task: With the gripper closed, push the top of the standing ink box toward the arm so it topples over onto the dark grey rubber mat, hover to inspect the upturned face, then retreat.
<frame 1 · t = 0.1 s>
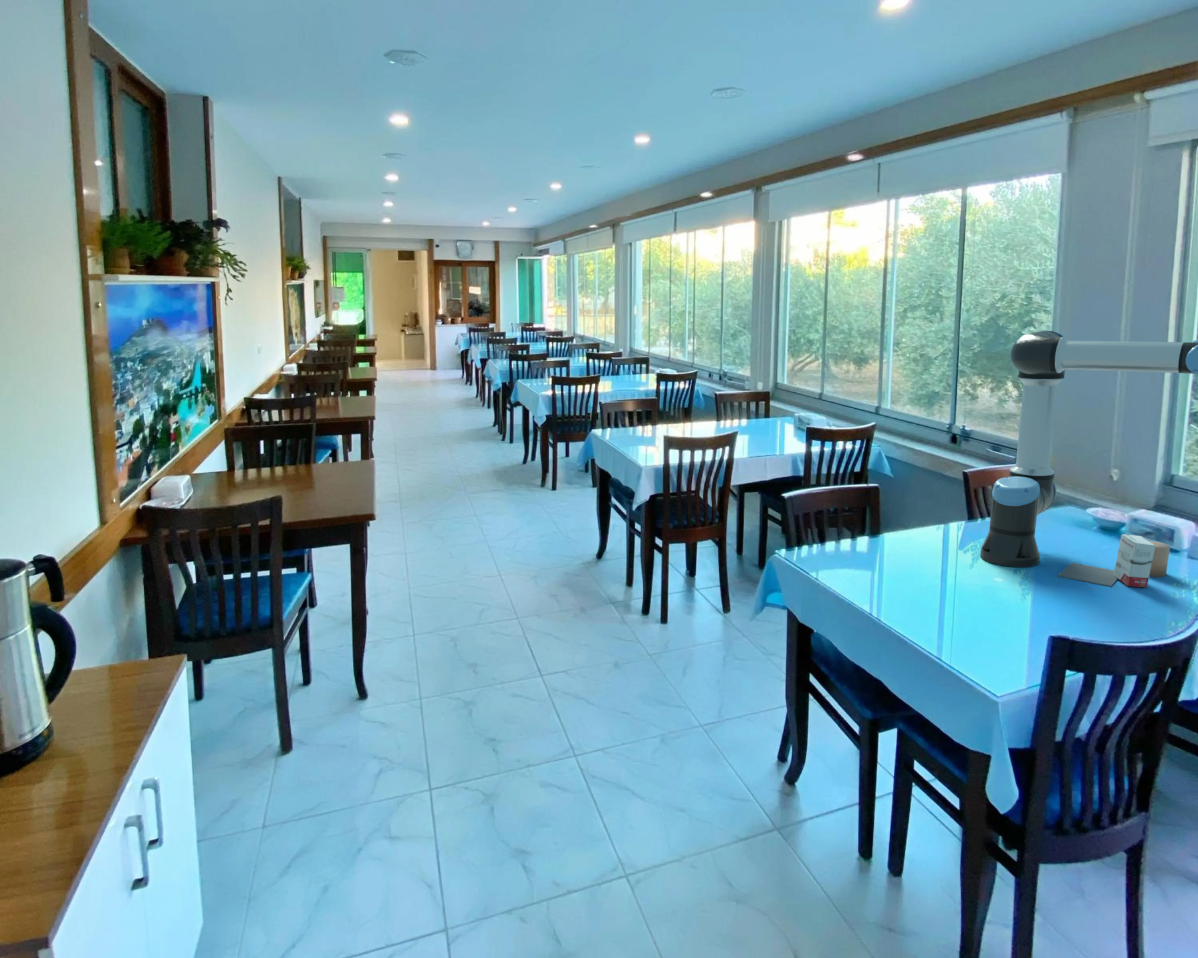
slate mat: (1090, 574, 209), on the table
beige domed cylinder: (1150, 572, 209), on the table
ink box: (1129, 582, 203), on the table, touching slate mat
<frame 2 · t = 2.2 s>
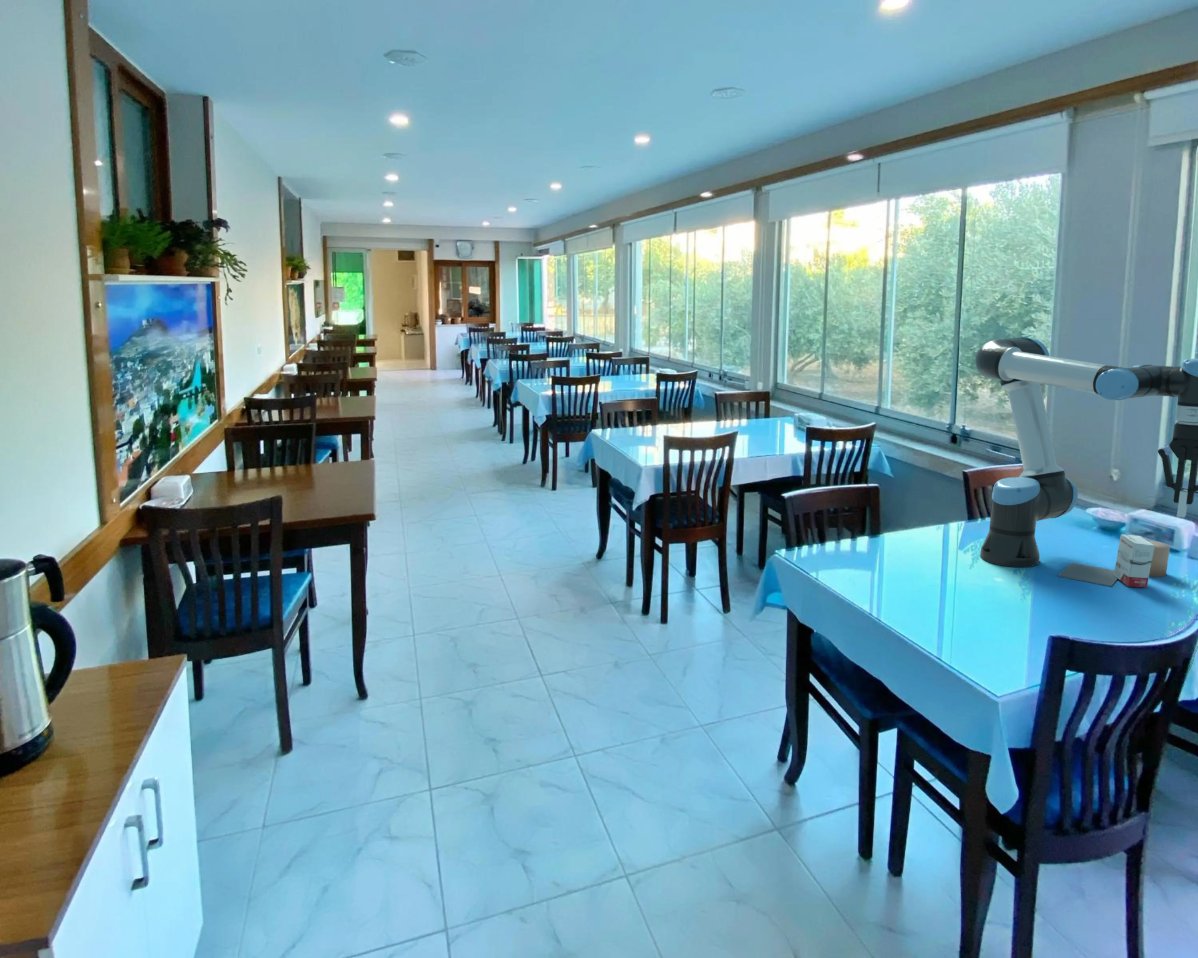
hand: (1181, 515, 192), 20 cm above the table, fingers closed
nothing on the table moved.
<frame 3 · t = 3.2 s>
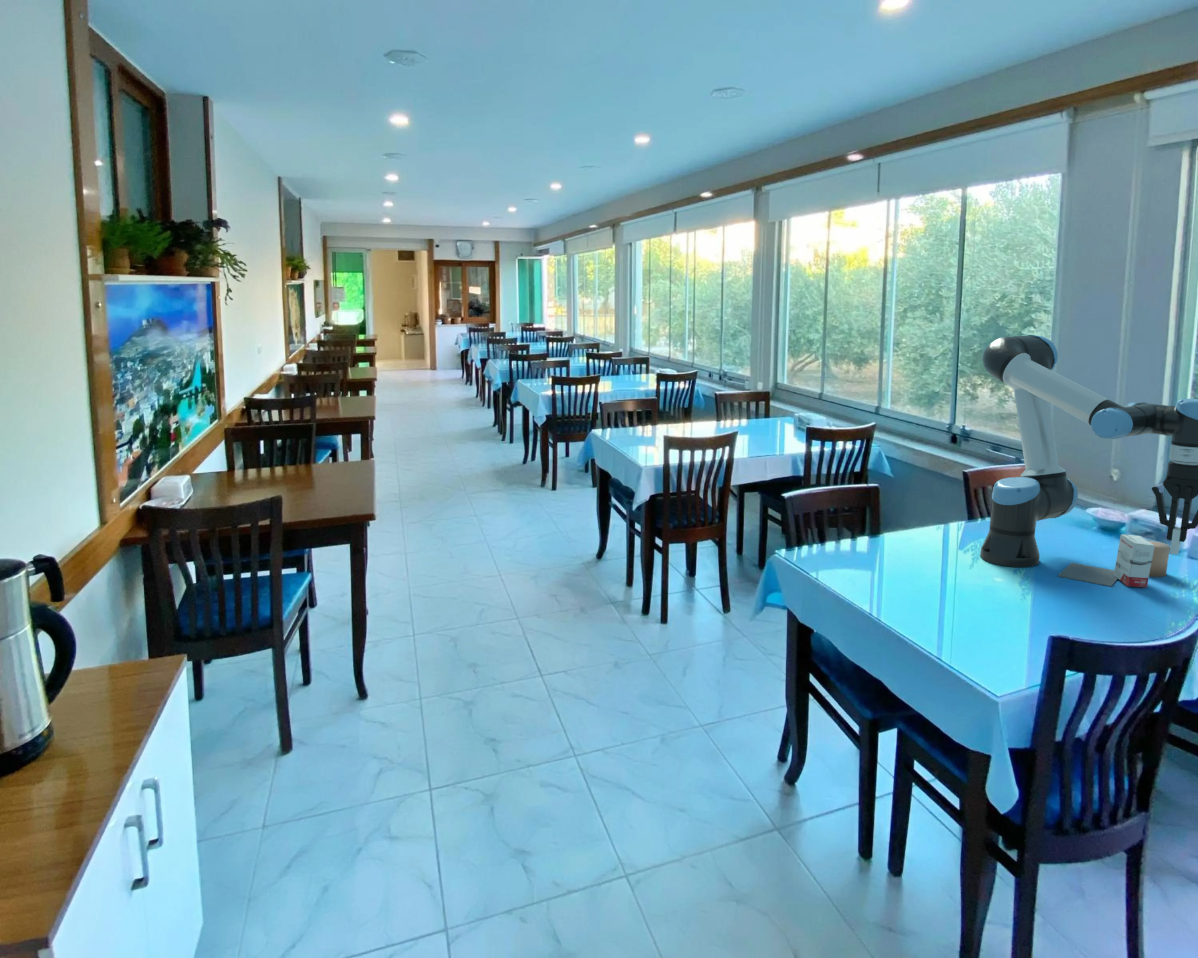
hand: (1174, 552, 195), 10 cm above the table, fingers closed
nothing on the table moved.
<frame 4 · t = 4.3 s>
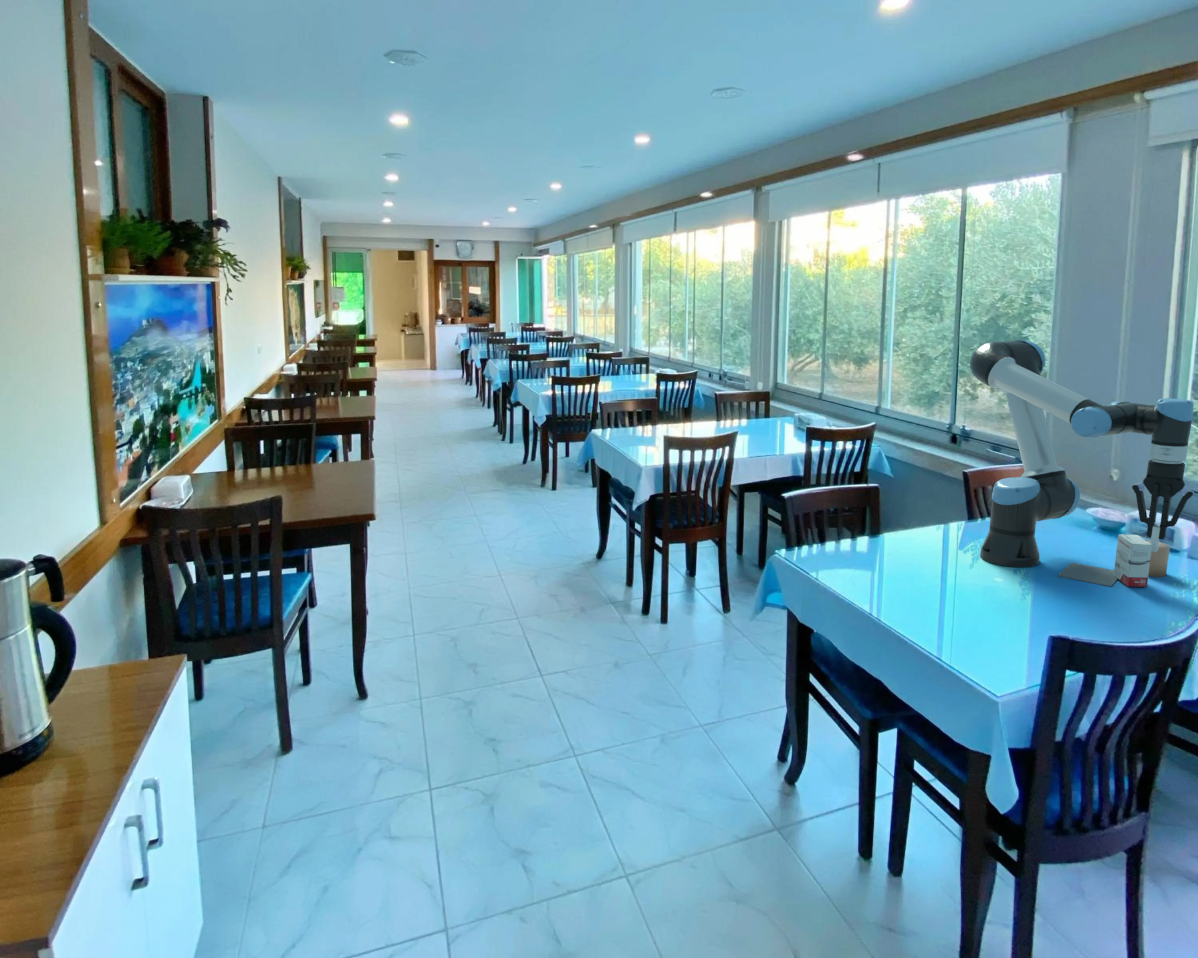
hand: (1153, 550, 198), 10 cm above the table, fingers closed
ink box: (1129, 581, 203), on the table, touching slate mat
everything else where it was.
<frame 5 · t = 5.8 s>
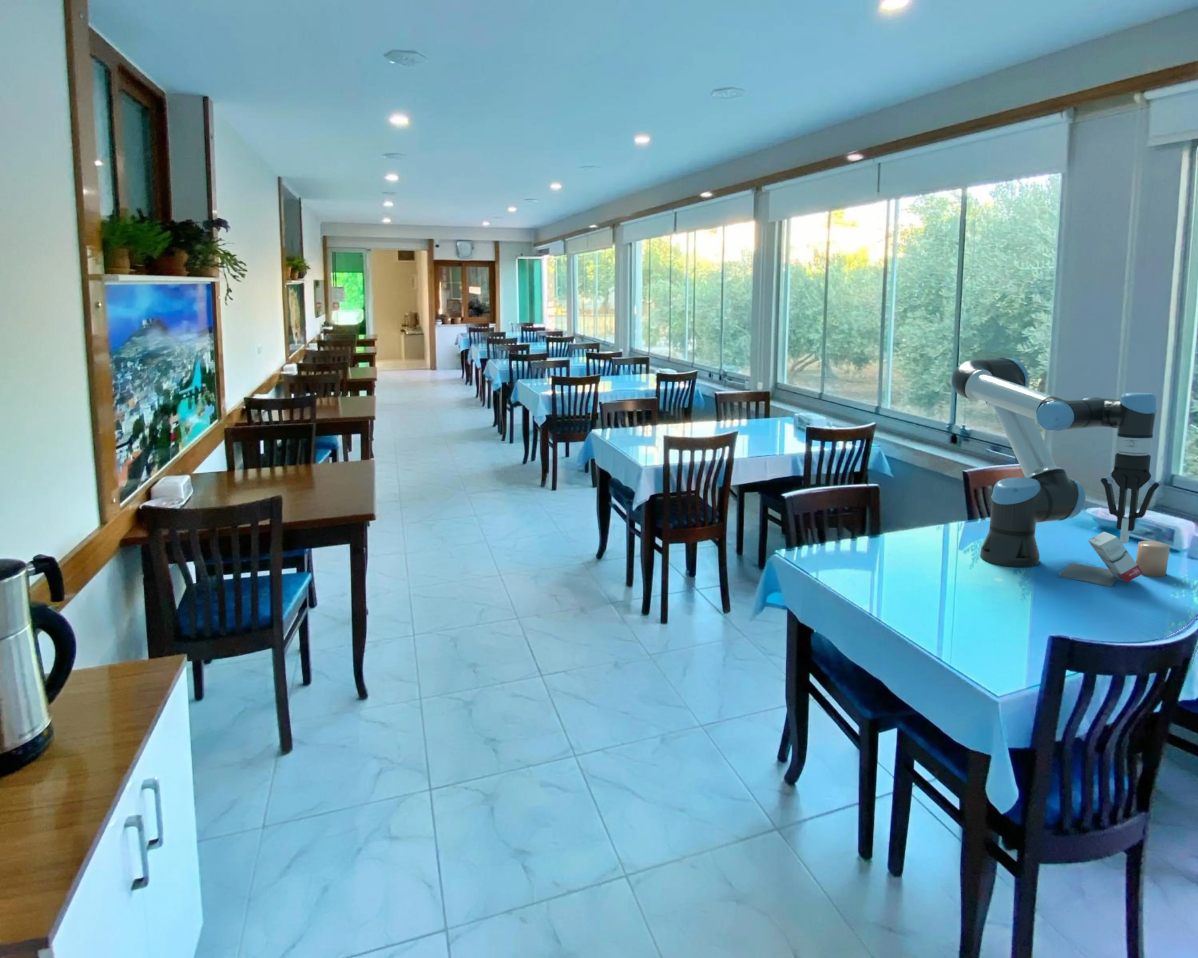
hand: (1124, 542, 201), 11 cm above the table, fingers closed
ink box: (1128, 575, 203), point 2 cm above the table, touching gripper, slate mat
everything else where it was.
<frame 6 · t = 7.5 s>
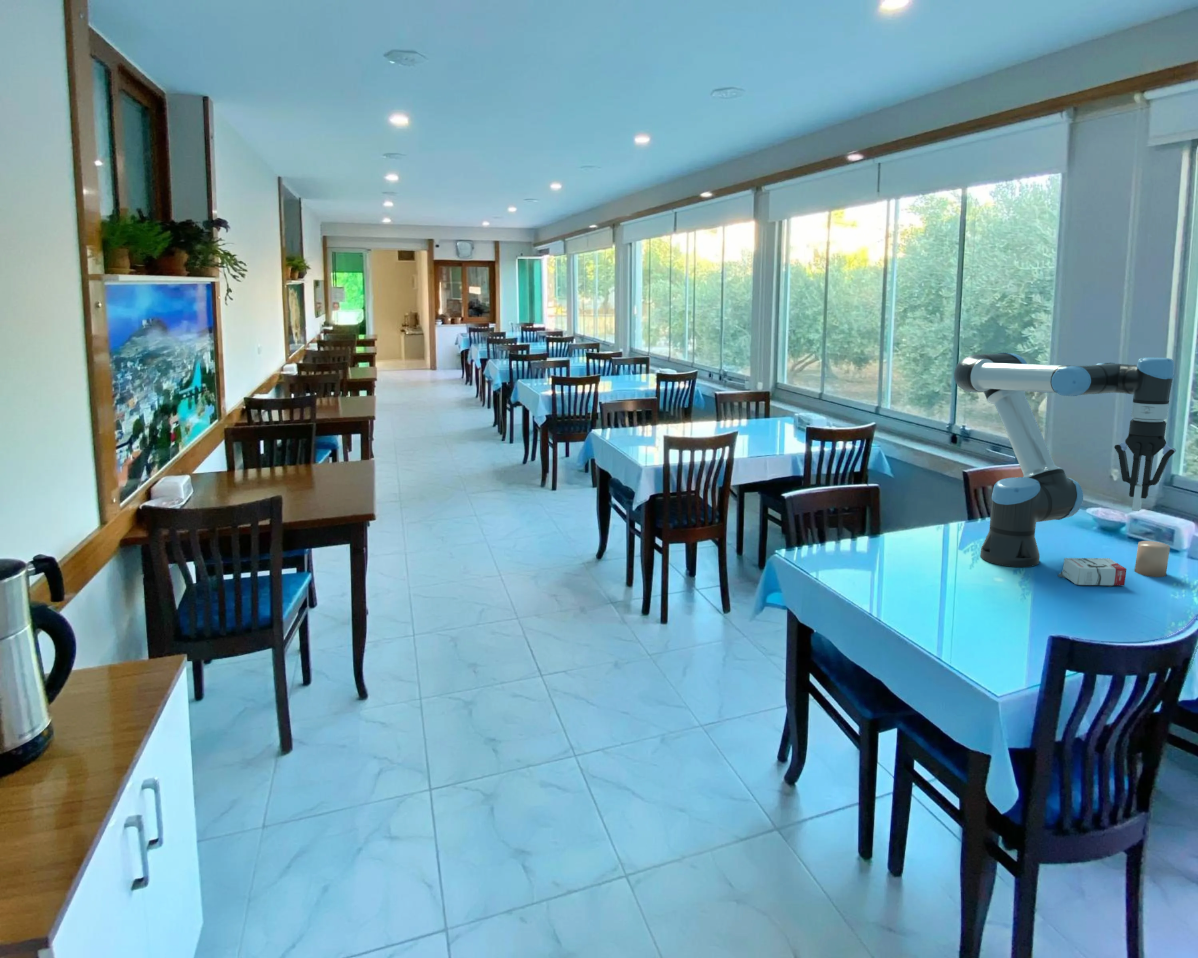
hand: (1136, 509, 199), 20 cm above the table, fingers closed
ink box: (1117, 571, 203), point 3 cm above the table, touching slate mat
everything else where it was.
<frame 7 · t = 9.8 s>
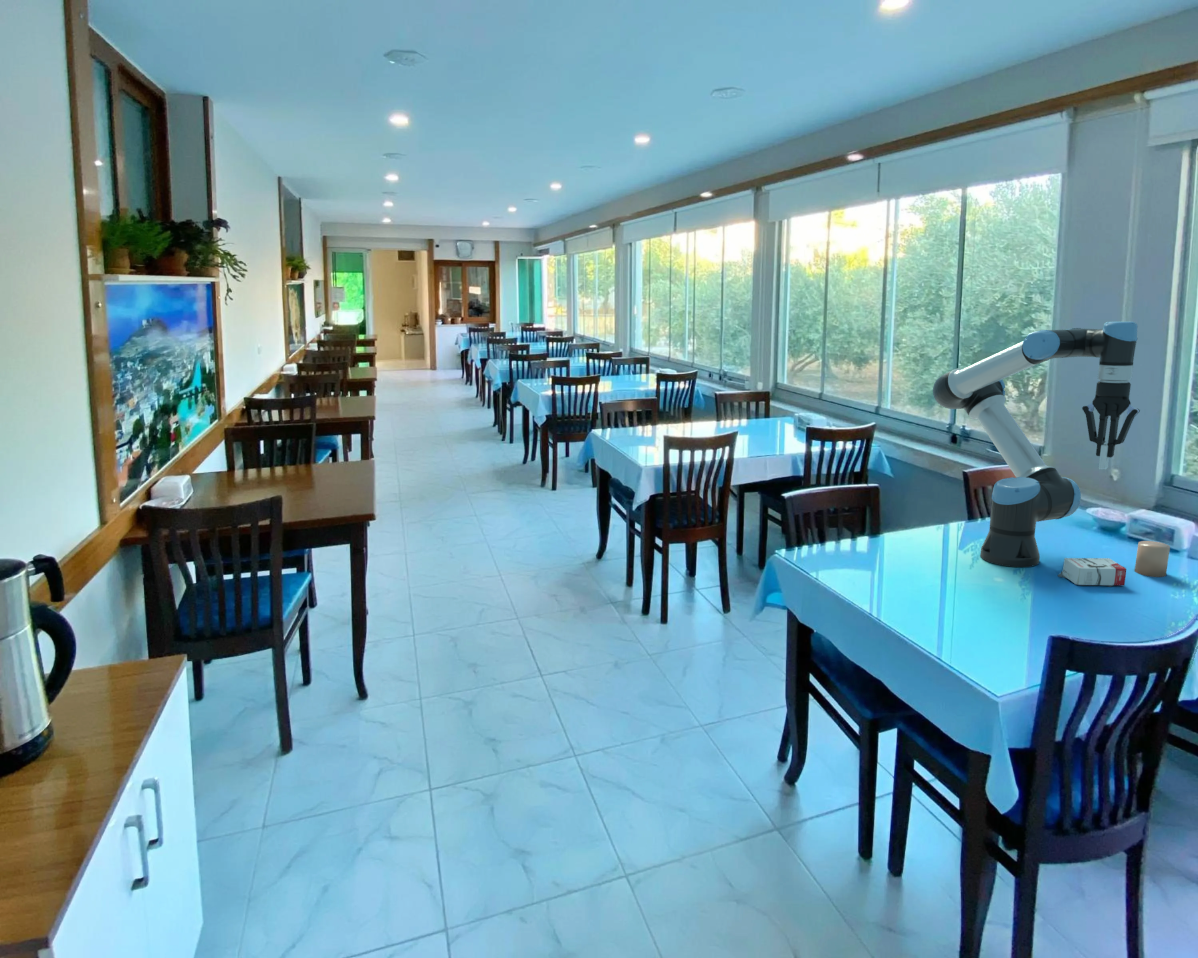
hand: (1103, 468, 207), 29 cm above the table, fingers closed
nothing on the table moved.
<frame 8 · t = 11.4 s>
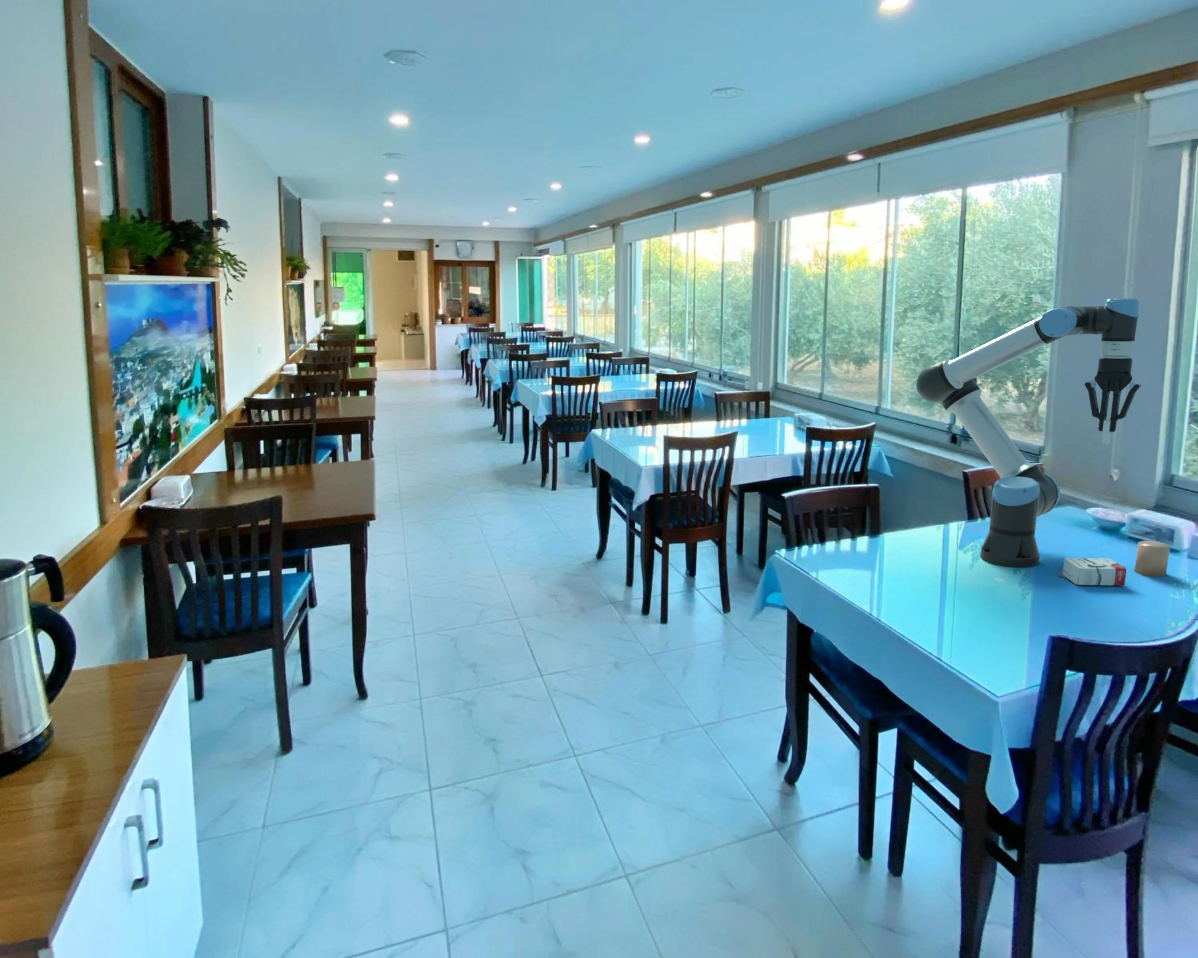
hand: (1105, 443, 211), 34 cm above the table, fingers closed
nothing on the table moved.
at the end: ink box tilted 90°; ink box inside the target area (5.5 cm from its centre), point 2.7 cm above the table; beige domed cylinder moved 0.1 cm from its start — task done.
